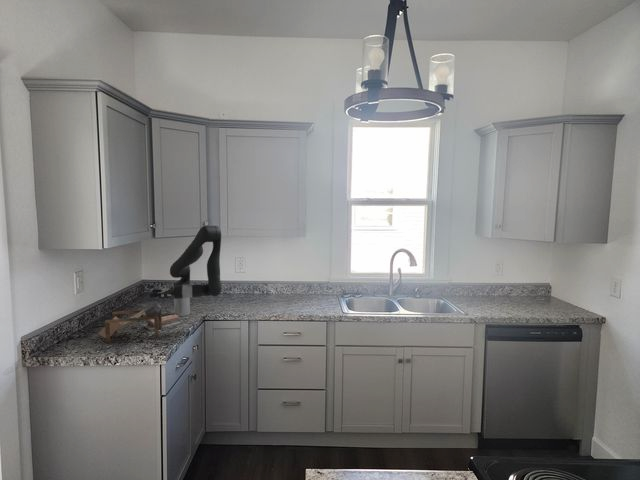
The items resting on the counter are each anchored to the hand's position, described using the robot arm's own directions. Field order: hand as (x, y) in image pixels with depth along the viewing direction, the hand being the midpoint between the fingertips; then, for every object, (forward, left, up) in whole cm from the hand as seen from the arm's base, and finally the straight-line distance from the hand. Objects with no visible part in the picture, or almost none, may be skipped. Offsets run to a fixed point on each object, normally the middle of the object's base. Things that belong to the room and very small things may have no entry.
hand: (151, 293), depth 194 cm
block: (+1, -16, -13) cm, 21 cm away
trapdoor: (+1, -5, -14) cm, 15 cm away
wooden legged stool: (+1, -9, -22) cm, 24 cm away
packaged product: (-14, +4, -23) cm, 27 cm away
